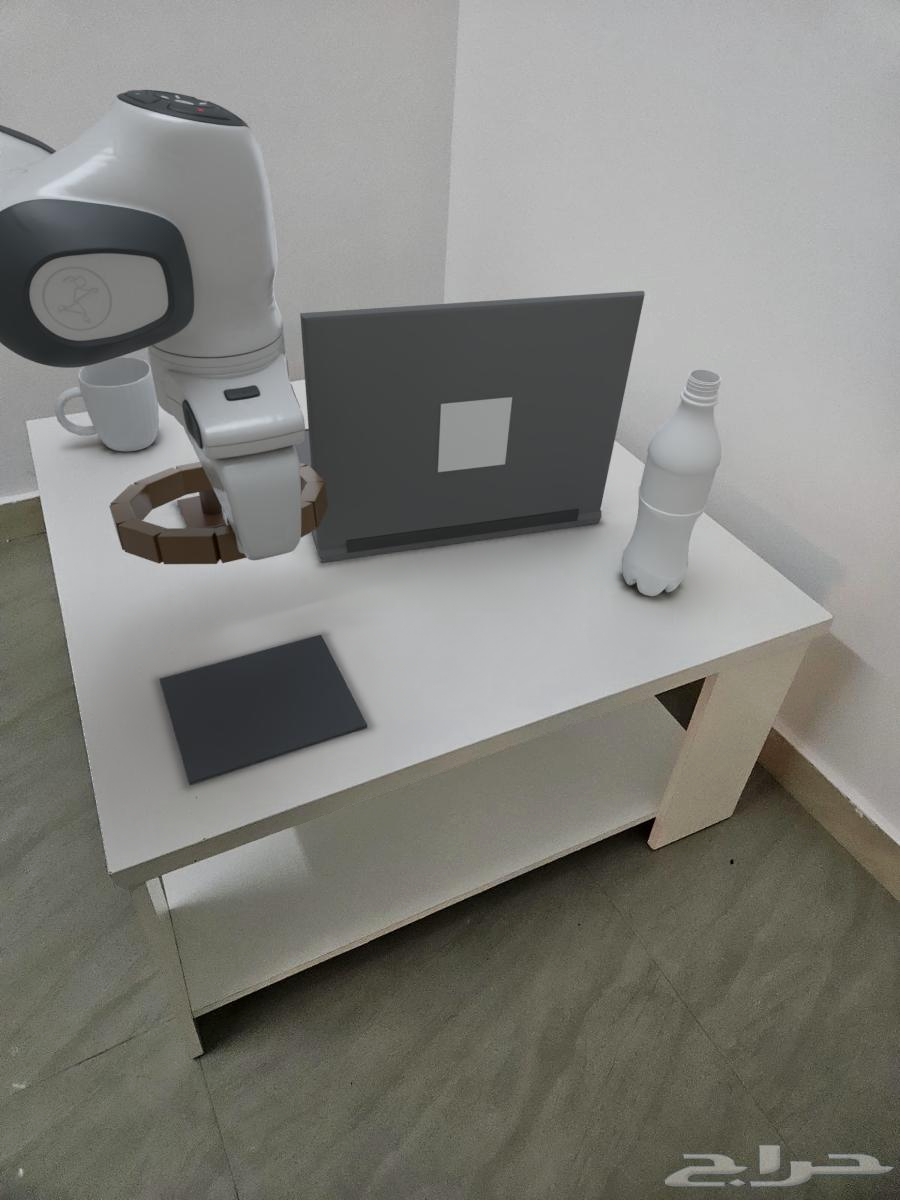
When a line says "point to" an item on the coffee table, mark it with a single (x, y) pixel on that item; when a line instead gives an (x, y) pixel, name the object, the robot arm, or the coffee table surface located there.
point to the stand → (202, 510)
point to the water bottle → (674, 488)
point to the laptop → (463, 418)
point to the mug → (116, 403)
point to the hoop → (193, 541)
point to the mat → (258, 707)
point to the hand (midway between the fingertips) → (243, 536)
